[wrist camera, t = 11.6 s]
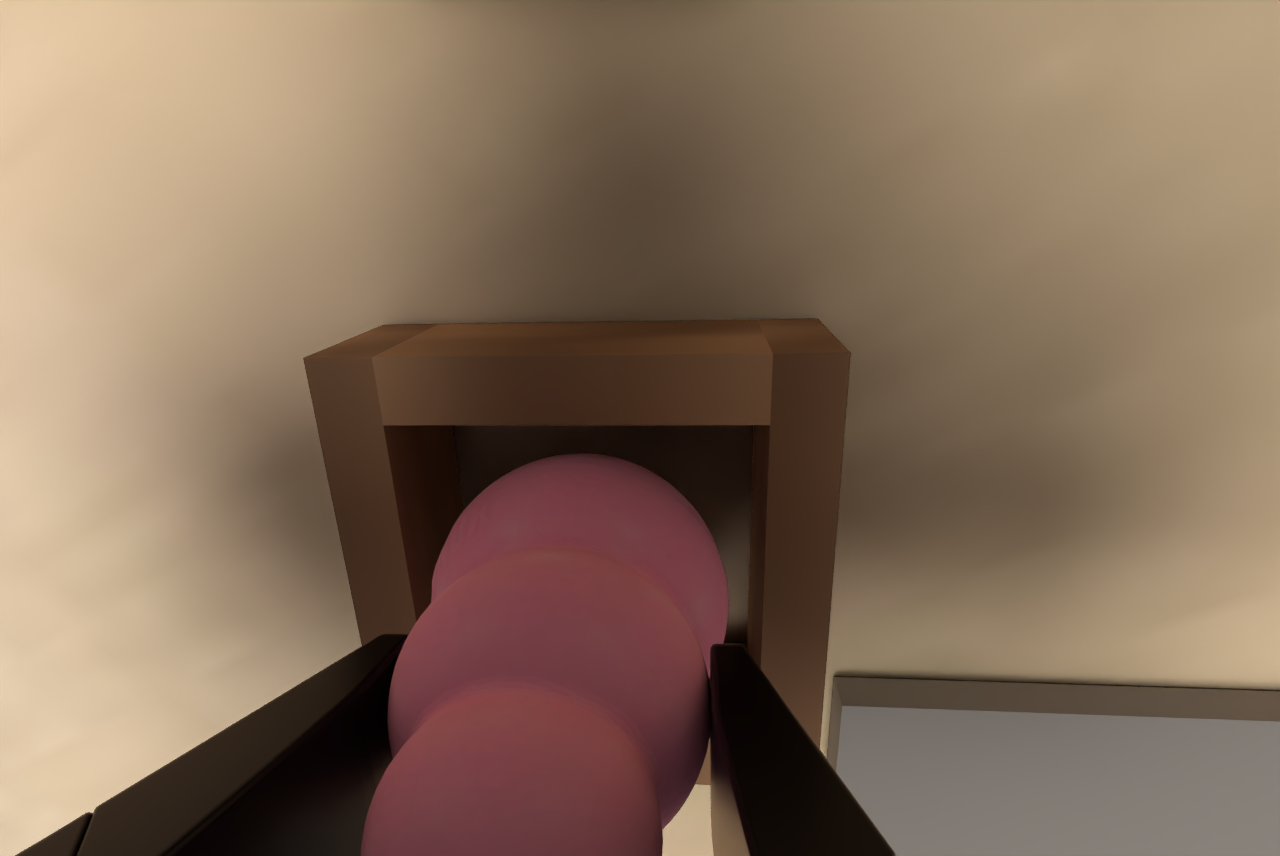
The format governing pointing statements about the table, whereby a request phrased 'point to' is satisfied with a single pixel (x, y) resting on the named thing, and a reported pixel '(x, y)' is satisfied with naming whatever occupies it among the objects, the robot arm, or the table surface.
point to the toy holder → (590, 395)
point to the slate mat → (1060, 767)
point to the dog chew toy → (555, 671)
